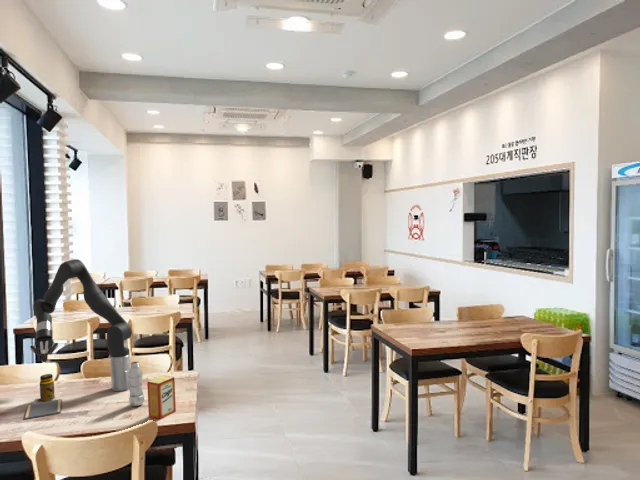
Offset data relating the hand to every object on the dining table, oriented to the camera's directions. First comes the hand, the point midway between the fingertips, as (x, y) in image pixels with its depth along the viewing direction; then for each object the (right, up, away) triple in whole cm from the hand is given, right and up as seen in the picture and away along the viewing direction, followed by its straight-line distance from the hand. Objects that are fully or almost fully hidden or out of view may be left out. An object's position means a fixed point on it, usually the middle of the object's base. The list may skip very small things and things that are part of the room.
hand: (44, 361), depth 245 cm
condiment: (+6, -17, -9) cm, 20 cm away
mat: (+12, -17, -21) cm, 29 cm away
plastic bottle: (+54, -16, -19) cm, 59 cm away
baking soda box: (+69, -16, -30) cm, 77 cm away
